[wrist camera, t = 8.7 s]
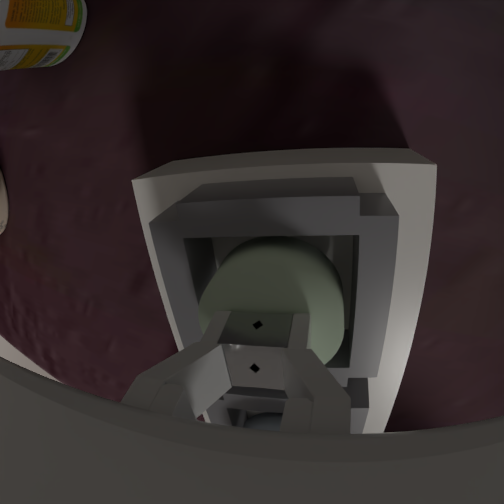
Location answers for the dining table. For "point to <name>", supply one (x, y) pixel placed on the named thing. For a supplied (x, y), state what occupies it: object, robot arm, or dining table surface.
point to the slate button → (264, 421)
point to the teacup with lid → (3, 204)
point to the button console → (308, 230)
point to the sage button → (280, 287)
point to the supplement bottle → (39, 31)
